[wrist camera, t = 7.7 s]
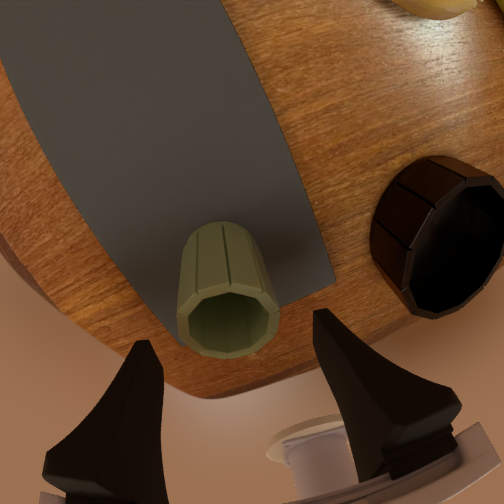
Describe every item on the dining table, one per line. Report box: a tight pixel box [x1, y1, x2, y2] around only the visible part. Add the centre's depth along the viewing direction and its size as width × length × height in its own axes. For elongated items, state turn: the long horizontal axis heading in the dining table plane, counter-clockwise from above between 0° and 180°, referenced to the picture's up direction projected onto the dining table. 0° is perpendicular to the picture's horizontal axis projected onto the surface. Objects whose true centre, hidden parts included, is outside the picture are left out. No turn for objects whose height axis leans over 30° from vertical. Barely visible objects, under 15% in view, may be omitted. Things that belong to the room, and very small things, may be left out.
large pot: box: [370, 156, 504, 320], centre depth 18 cm, size 10×10×4 cm
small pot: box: [176, 221, 281, 359], centre depth 15 cm, size 4×5×6 cm
